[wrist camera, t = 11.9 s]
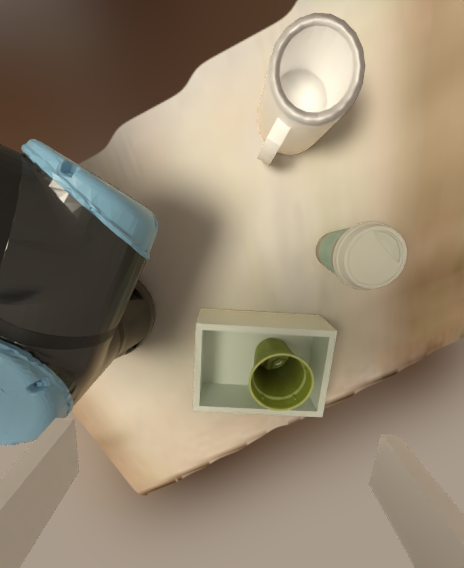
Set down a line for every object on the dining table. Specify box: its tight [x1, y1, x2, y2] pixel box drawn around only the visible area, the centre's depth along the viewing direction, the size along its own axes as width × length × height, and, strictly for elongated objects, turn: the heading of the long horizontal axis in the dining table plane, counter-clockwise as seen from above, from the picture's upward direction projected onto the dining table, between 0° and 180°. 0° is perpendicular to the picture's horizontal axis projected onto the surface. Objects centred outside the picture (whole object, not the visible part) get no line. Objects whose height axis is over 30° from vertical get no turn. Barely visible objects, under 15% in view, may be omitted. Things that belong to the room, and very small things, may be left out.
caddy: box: [193, 308, 337, 417], centre depth 41 cm, size 21×15×7 cm
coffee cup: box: [316, 221, 407, 290], centre depth 34 cm, size 8×8×12 cm
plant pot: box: [249, 338, 314, 411], centre depth 39 cm, size 9×9×9 cm
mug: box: [257, 13, 365, 165], centre depth 31 cm, size 14×10×11 cm
